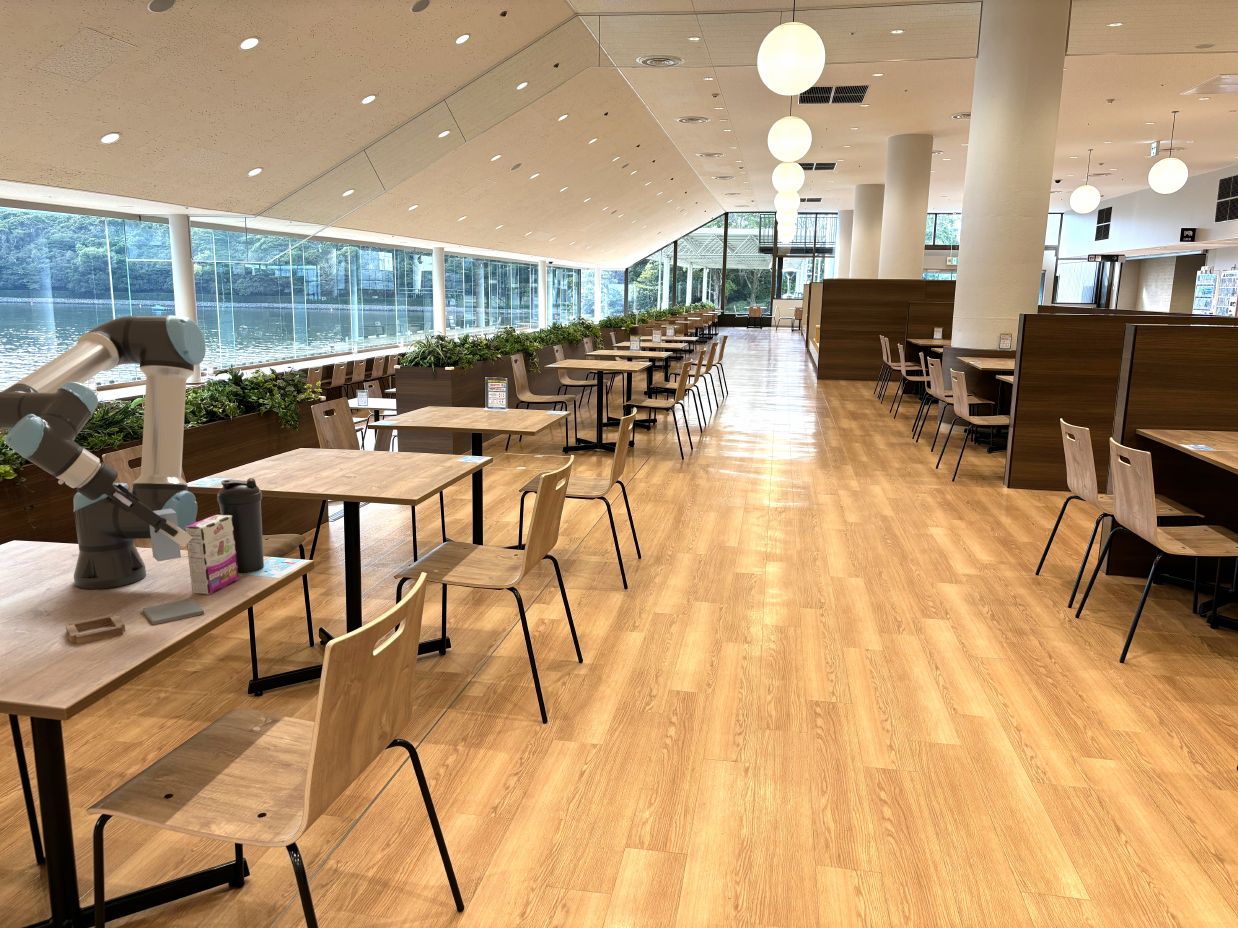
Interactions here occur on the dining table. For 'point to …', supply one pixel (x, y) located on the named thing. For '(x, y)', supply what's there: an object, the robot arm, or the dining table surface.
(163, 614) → the grey rubber mat
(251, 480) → the water bottle
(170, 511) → the dusty blue painted block
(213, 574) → the candy bar box
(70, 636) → the walnut pocket frame
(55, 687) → the dining table surface
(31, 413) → the robot arm
